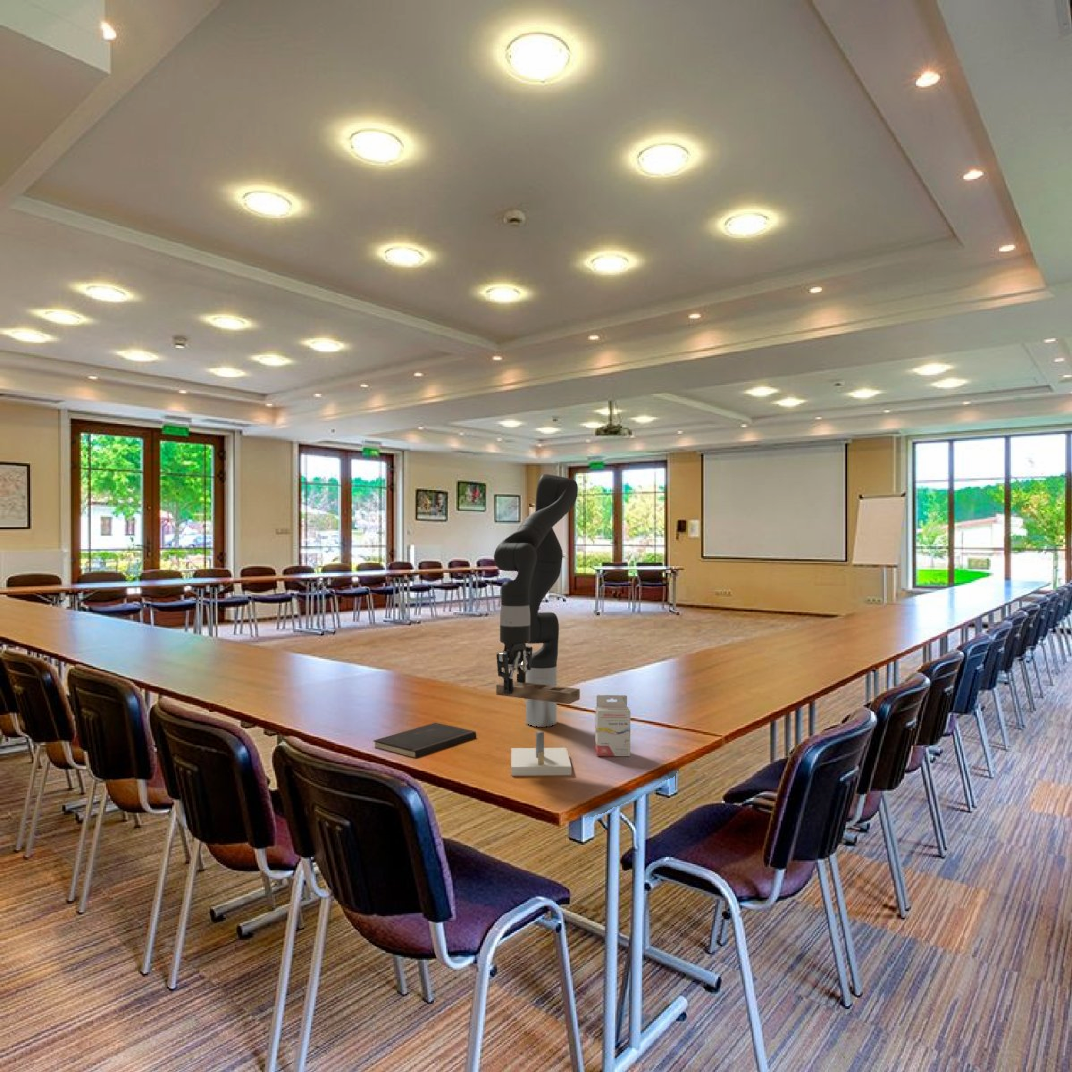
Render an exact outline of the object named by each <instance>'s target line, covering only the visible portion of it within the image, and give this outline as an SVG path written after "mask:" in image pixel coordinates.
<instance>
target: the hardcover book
mask: <svg viewBox="0 0 1072 1072" xmlns="http://www.w3.org/2000/svg"><path fill="white" fill-rule="evenodd" d="M475 737H476V738H477V732H476V731H475V730H470V729H467V728H462V727H457V726H453V725H448V724H443V723H439V722H434V723H433V722H432V723H430V724H425V725H422V726H418V727H415V728H412V729H408V730H405V731H402V732H398V733H395V734H390V735H388V736H385V737H381V738H377V739H374V740H373V742H374V748H377V749H381V750H386V751H389V752H393V753H397V754H399V755H400V754H401V755H404V756H408V757H410V758H415V759H417V758H421V757H423V756H427V755H429V754H432V753H435V752H438V751H441V750H445V749H447V748H451V747H452V746H453V747H454V746H456V745H458V744H461V743H464V742H468V741H471V740H473V738H474V739H476V738H475Z"/></svg>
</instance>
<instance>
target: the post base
mask: <svg viewBox="0 0 1072 1072" xmlns="http://www.w3.org/2000/svg"><path fill="white" fill-rule="evenodd" d="M567 749H568V748H567V747H545V732H544V731H542V730H540V731H539V730H537V731H536V732H535V747H511V748H510V753H511V754H510V756H511V757H510V764H511V765H510V776H513V777H514V776H515V777H517V776H521V777H523V776H527V777H529V776H534V777H535V776H537V777H538V776H572V765H571V764H572V763H571V760H570V756H569V752H568V750H567Z"/></svg>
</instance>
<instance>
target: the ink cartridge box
mask: <svg viewBox="0 0 1072 1072" xmlns="http://www.w3.org/2000/svg"><path fill="white" fill-rule="evenodd" d="M611 699H612V700H615V701H609V700H611ZM595 703H596V705H595V721H594V722H595V723H594V724H595V730H594V731H595V732H594V733H595V734H594V738H595V739H594V752H595V754H596V756H597V757H598V756H631V709H630V708H629V707H628V695H626V694H625V695H624V694H623V695H622V694H621V695H620V694H617V695H616V694H602V695H601V694H597V695H596V702H595Z"/></svg>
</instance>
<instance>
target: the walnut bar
mask: <svg viewBox="0 0 1072 1072" xmlns="http://www.w3.org/2000/svg"><path fill="white" fill-rule="evenodd" d="M495 687H496V688H495V692H496V693H495V695H496V696H502V697H511V698H516V699H517V698H518V699H525V700H526V699H533V700H540V701H548V702H556V703H557V704H566V705H570V704H573V703H574V702H577V701H579V700H580V698H581V697H580V696H581V690H580V688H575V687H569V686H568V687H566V686H558V685H557V686H551V685H542V684H533V683H525V682H517V680H513V693H512V694H505V693H504V681H502V682H500V683H497V684H496V686H495Z"/></svg>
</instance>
